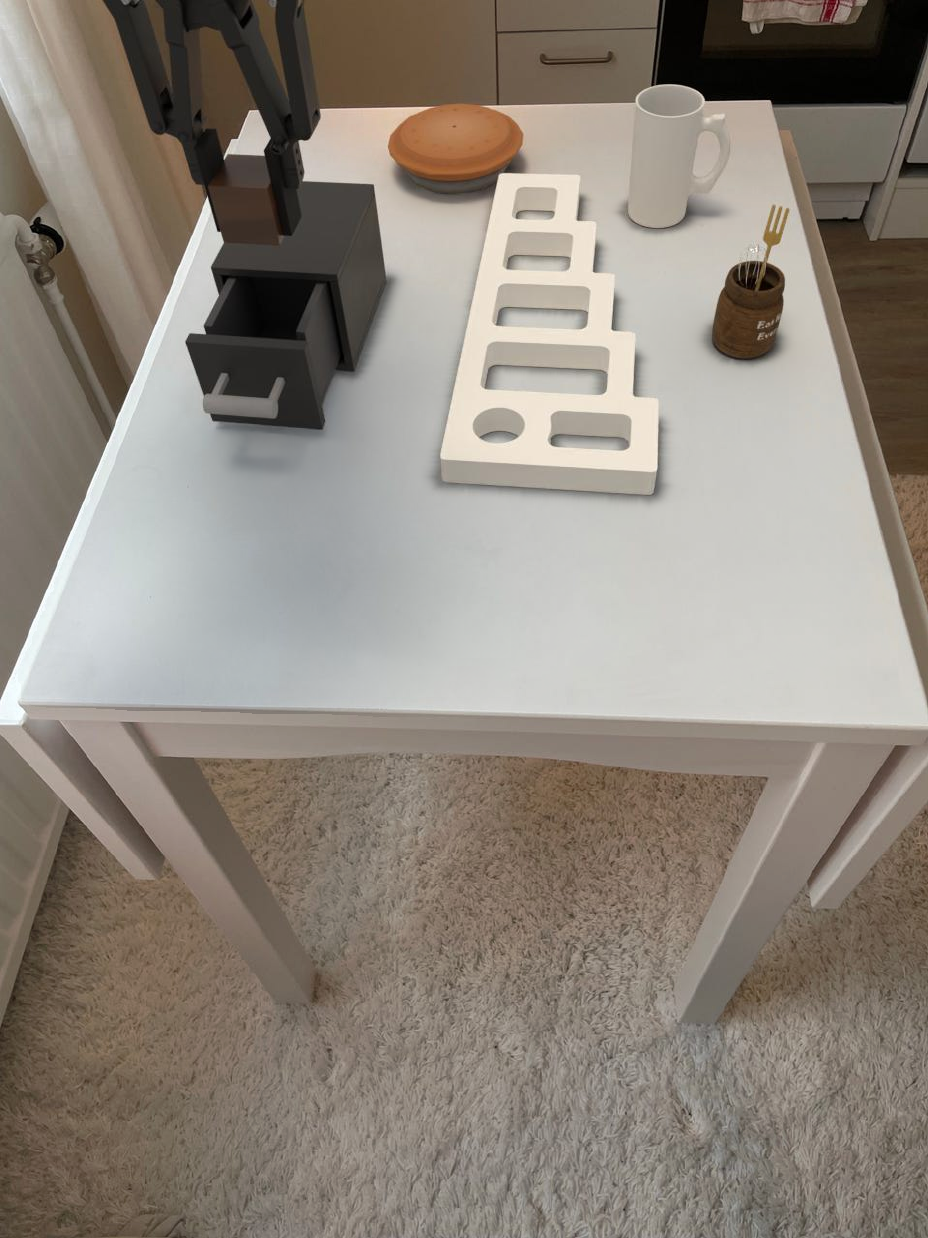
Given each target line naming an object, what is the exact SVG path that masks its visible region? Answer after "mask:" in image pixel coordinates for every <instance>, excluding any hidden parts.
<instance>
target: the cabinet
mask: <svg viewBox="0 0 928 1238" xmlns="http://www.w3.org/2000/svg"><path fill="white" fill-rule="evenodd" d="M296 190H297V195H298V200H299V205H300V210H301V215H302V217H301V219H300V221H299V223H298V225H297V227H296V229H295V231H294V233H293V235H292V236H284V238H283V240H282V242H281V244H280V246H276V245H259V244H242V243H225V242H223V243H222V245H221V247H220V249H219V250H218V253H217V255H216V257H214V260H213V262H212V264H211V266H210V270H211V273H212V276H213V281H214V284H215V287H216V290H217V294H218V296H219V295H220V293H221V291H222V289H223V287H224V285H225V283H226V281H227V279H228V277H229V276H246V277H263V278H281V279H298V280H315V281H330V285H331V291H332V296H333V301H334V307H335V312H336V317H337V323H338V328H339V333H340V339H341V344H342V349H343V351H342V354H341V357H340V359H339V362H338V365H337V367H336V370H335V371H341V372H355V370H356V367H357V365H358V362H359V359H360V356H361V353H362V351H363V349H364V345H365V342H366V340H367V337H368V334H369V331H370V328H371V325H372V324H373V323H372V322H373V320H374V317H375V314H376V311H377V308H378V306H379V303H380V300H381V298H382V294H383V292H384V289H385V286H386V284H387V275H386V266H385V259H384V251H383V243H382V236H381V235H382V234H381V227H380V221H379V213H378V206H377V199H376V197H377V196H376V191H375V184H374V183H353V182H335V181H334V182H332V181H330V182H329V181H310V180H309V181H308V180H302V182H301V184H300V186H299V188H298V189H296Z"/></svg>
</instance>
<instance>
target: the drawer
mask: <svg viewBox="0 0 928 1238" xmlns="http://www.w3.org/2000/svg"><path fill="white" fill-rule="evenodd" d="M203 329H204V332H205V333H194V332H189V334H188V335H187V337H186V339H185V340H184V342H185V346H186V349H187V352H188V354H189V358H190V360H191V363H192V366H193V369H194V372H195V374H196V377H197V381H198V383H199V386H200V389H201V392H202V395H203V399H202V410H203V411H204V413H205V414H209V415H210V418H211V421H212V422H215V423H216V422H217V423H218V422H219V423H229V424H243V425H254V426H268V427H279V428H292V429H293V428H294V429H305V430H317V431H323V430H324V427H325V424H326V418H325V412H324V406H323V404H324V402H325V400H326V396H327V394H328V391H329V388H330V386H331V383H332V380H333V377H334V375H335V372H336V371H337V370H336V367H337V365H338V362H339V359H340V357H341V354H342V351H343V349H342V344H341V339H340V333H339V328H338V323H337V317H336V312H335V307H334V301H333V296H332V291H331V285H330V281H315V280H298V279H281V278H263V277H246V276H229V277H228V279H227V281H226V283H225V285H224V287H223V289H222V291H221V293H220V295H219V294H218V297H217V298H216V300H215V302H214V304H213V306H212V308H211V310H210V311H209V314H208V316H207V318H206V320H205V322H204V323H203Z"/></svg>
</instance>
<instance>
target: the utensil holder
mask: <svg viewBox="0 0 928 1238" xmlns="http://www.w3.org/2000/svg"><path fill="white" fill-rule="evenodd" d="M783 209H784V207H783V206H782V205H780V206H779V207H778V209H777V213H776V216H775V220H774V222H773V218H774V214H775V212H776V211H775V210H776V204H772V206H771V208H770V212H769V216H768V219H767V222H766V226H765V229H764V232H763V236H762V241H763V242H764V243H765V244H766V245H767V246H766V248H764V247H763V246H762V247H761V246H760V245H759V244H757V245H755V246H752V244H750V245H749V246H748V247H746V248H744V249H743V250H742V251H741V254H740V257H739V260H740V261H739V263H736V264H735V265H733V266H732V267H731V268H730V270H729V271H728V273H727V275H726V278H725V280H724V287H723V288H721V290H720V293H719V296H718V298H717V302H716V308H715V313H714V316H713V322H712V328H711V338H712V342H713V345H714V346H715V347H716V349H718V350H719V352H721V353H723V354H725V355H727V356H728V357H733V358H735V359H753V358H758V357H760V356H763V355H765V354H767V352H768V351H770V349H771V348H772V347H773V345H774V343H775V340H776V338H777V334H778V330H779V326H780V323H781V319H782V315H783V310H784V305H785V304H784V302H785V301H784V300H785V299H784V292H785V288H786V277H785V274H784V272H783V271H782V270H781V269H780V268H779V267H778V266H776V265H774V264H771V263H770V262H768V261H769V257H770V254H771V250H772V247H773V246H777V245H779V243H781V240H782V236H783V234H784V230H785V227H786V223H787V219H788V216H789V213H790V208H789V207H786V208H785V211H784V213H783V217H782V220H781V224H780V227H779V231H778V232H777V229H778V225H779V222H780V219H781V215H782V211H783ZM772 222H773V227H772V230H770V229H771V225H772ZM761 249H763V250H764V251H765V253H764V251H763V250H761ZM745 250H747V252H746V253H745V254H744V255H743V252H744V251H745ZM752 250H753V251H752ZM751 251H752V253H751V256H750V258H749V260H748V258H745V256H746V257H748V256H749V255H748V254H749V252H751ZM755 251H756V254H757V256H756V259H757V260H752V257H753V254H754V252H755ZM759 252H761V253H762V254H763V255H764V258H763V261H761V260H760V256H759ZM742 255H743V256H742ZM744 258H745V259H746V260H745V261H743V259H744Z"/></svg>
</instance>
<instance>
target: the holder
mask: <svg viewBox="0 0 928 1238" xmlns="http://www.w3.org/2000/svg"><path fill="white" fill-rule="evenodd" d="M580 193H581V175H579V174H555V173H551V174H550V173H514V172H513V173H512V172H504V173H501V174H499V177H498V180H497V181H496V187H495V191H494V197H493V201H492V205H491V210H490V216H489V220H488V225H487V229H486V235H485V239H484V243H483V244H484V245H483V249H482V252H481V253H482V254H481V259H480V263H479V268H478V272H477V277H476V282H475V286H474V292H473V297H472V300H471V301H472V302H471V305H470V311H469V315H468V320H467V326H466V329H465V334H464V339H463V343H462V349H461V354H460V359H459V363H458V368H457V372H456V377H455V381H454V382H455V383H454V387H453V392H452V397H451V401H450V407H449V411H448V416H447V421H446V425H445V430H444V435H443V439H442V444H441V449H440V454H439V461H440V469H441V470H440V471H441V480H442V481H443V482H444V483H452V484H466V485H467V484H468V485H482V486H483V485H484V486H497V487H498V486H499V487H500V486H501V487H514V488H515V487H516V488H530V489H546V490H562V491H563V490H564V491H577V492H578V491H579V492H593V493H594V492H595V493H608V494H609V493H610V494H623V495H625V494H628V495H640V496H641V495H643V496H651V495H653V494H654V492H655V485H656V479H657V474H658V459H659V457H658V456H659V448H658V447H659V416H660V415H659V413H660V409H659V408H660V402H659V401H660V400H659V398H656V397H639V396H635V395H634V381H635V380H634V379H635V377H634V375H635V356H636V355H635V354H636V336H637V335H636V333H635V332H633V331H622V330H621V331H618V330H613V329H612V327H613V324H612V322H613V312H614V297H615V282H616V275H615V274H614V273H611V272H609V273H607V272H594V265H595V255H596V254H595V253H596V241H597V226H598V223H597V222H596V221H594V220H593V221H589V220H578V214H579V208H580V207H579V205H580V196H581V195H580ZM521 211H540V212H541V211H542V212H543V211H547V212H554V214H553V217H552V218H550V219H528V218H527V219H524V218H517V214H518V213H519V212H521ZM512 256H539V257H541V256H543V257H566V258H569V259H570V263H569V267H568V268H567V270H563V271H554V270H553V271H551V270H523V269H521V270H520V269H508V268H507V267H508V264H509V263H508V262H509V259H510V258H511V257H512ZM505 308H528V309H551V310H576V311H577V310H578V311H584V312H586V313H587V324H586V326H584V327H582V328H581V329H580V328H579V329H573V328H572V329H571V328H551V327H549V328H548V327H529V326H528V327H526V326H504V325H503V326H501V325H497V322H498V317H499V312H500V310H501V309H505ZM493 366H515V367H536V368H557V369H575V370H576V369H577V370H578V369H579V370H597V371H603V372H605V373H606V375H607V376H606V377H607V379H606V391H605V392H604V393H602V394H583V393H582V394H580V393H563V392H562V393H560V392H541V391H523V390H522V391H521V390H503V389H502V390H501V389H487V388H486V383H487V378H488V374H489V369H490V368H491V367H493ZM493 432H508V433H511V434H514V435H515V436H517V437H516V438H515V439H513V440H510V441H507V442H502V443H496V442H495V443H494V442H488V441H487V440H483V439H482V437H483V436H485V435H487V434H489V433H493ZM556 435H567V436H568V435H570V436H585V437H586V436H587V437H588V436H589V437H605V438H621V439H624V440H625V441H626V442H627V443H628V447H627V448H626V449H623V450H616V449H615V450H614V449H598V448H596V449H595V448H581V447H580V448H578V447H561V446H554V445H552V438H553V437H554V436H556Z"/></svg>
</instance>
